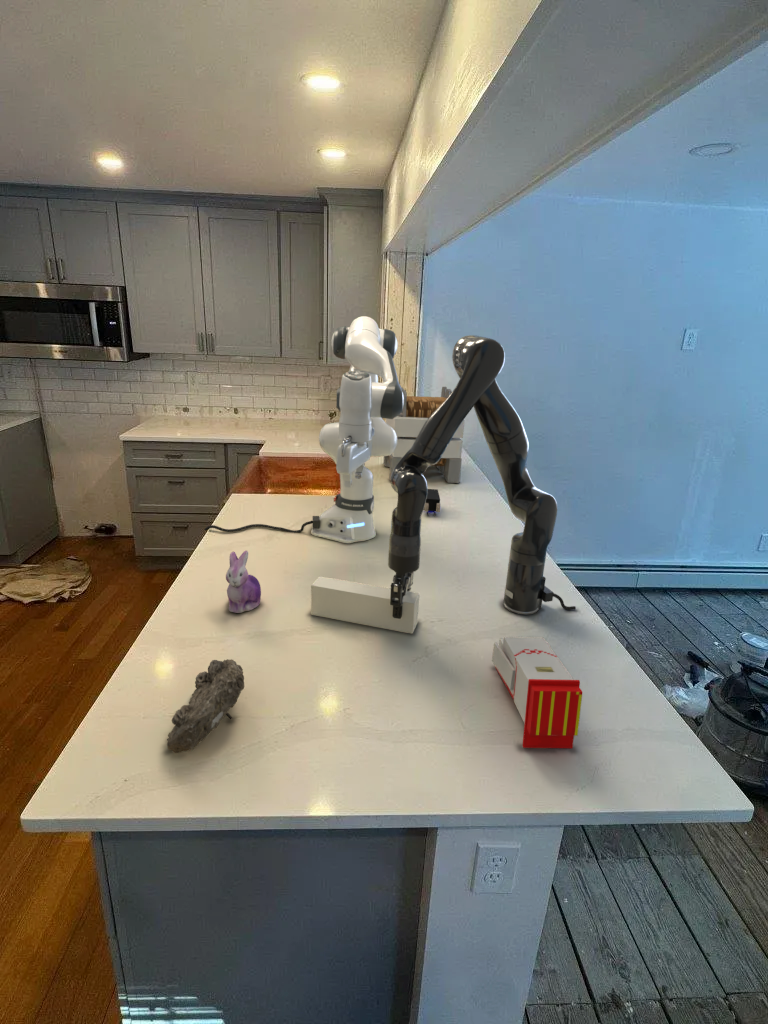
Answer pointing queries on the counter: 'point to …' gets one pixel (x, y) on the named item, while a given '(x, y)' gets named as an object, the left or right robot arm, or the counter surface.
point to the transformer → (411, 425)
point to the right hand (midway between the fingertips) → (400, 610)
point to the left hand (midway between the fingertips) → (353, 482)
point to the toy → (539, 691)
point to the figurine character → (432, 502)
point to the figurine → (241, 585)
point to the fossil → (206, 705)
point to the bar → (362, 604)
